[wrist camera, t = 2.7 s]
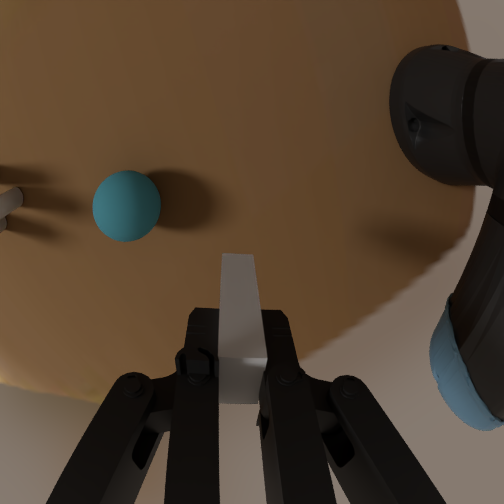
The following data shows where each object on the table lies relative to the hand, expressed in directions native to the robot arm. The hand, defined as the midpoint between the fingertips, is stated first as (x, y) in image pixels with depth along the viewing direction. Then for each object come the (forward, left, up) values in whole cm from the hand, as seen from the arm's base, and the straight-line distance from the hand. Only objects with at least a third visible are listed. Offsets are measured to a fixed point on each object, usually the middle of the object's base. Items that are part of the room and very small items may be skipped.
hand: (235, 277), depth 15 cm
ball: (+9, +3, -10) cm, 13 cm away
